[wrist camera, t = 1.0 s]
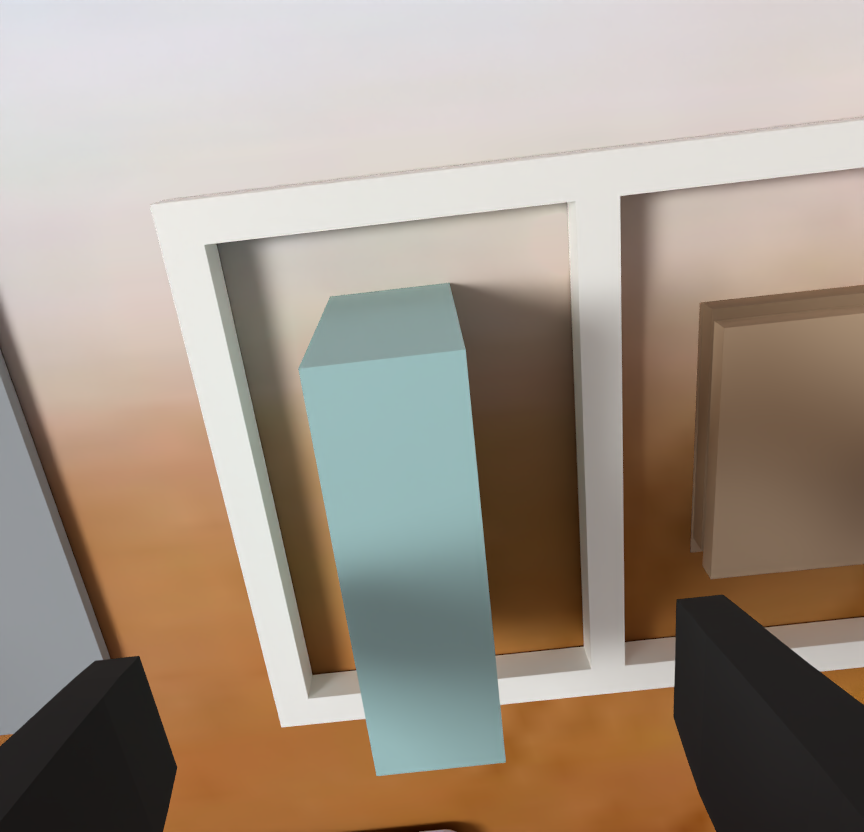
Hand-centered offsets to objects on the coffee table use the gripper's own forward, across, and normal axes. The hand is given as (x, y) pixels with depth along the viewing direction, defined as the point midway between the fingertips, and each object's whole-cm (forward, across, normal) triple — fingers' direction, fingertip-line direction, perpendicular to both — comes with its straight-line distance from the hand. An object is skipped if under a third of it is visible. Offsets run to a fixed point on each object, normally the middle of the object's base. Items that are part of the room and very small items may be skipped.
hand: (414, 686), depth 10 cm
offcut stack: (+7, -8, 0) cm, 11 cm away
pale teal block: (+7, 0, 0) cm, 7 cm away
